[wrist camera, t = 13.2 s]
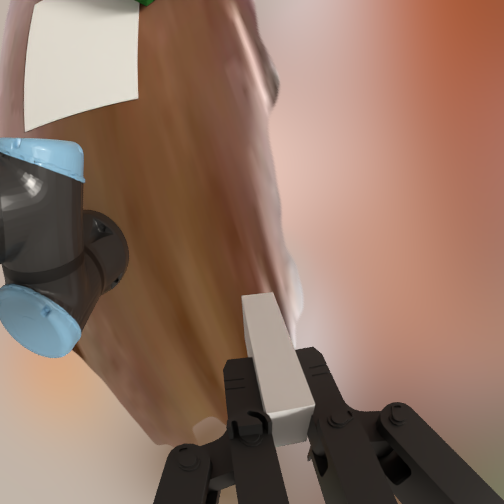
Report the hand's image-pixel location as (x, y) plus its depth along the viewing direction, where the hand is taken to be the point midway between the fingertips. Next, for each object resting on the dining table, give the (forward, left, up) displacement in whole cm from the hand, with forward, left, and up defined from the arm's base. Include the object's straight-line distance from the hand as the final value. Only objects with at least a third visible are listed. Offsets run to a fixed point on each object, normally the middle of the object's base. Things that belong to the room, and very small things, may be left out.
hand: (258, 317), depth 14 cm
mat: (-24, +30, -32) cm, 50 cm away
